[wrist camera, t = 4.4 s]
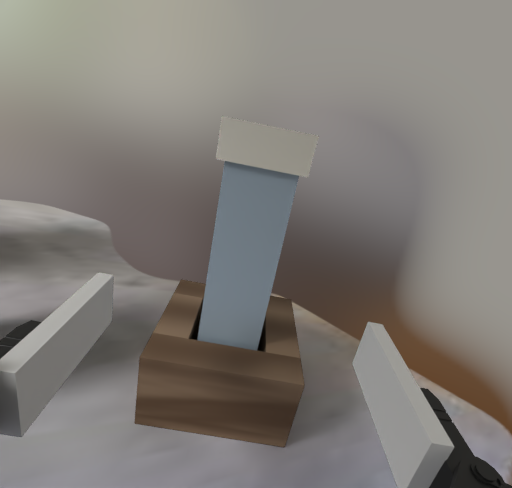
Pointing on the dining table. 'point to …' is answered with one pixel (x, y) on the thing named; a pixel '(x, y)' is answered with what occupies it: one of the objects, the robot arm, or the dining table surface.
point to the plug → (250, 226)
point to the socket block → (220, 375)
